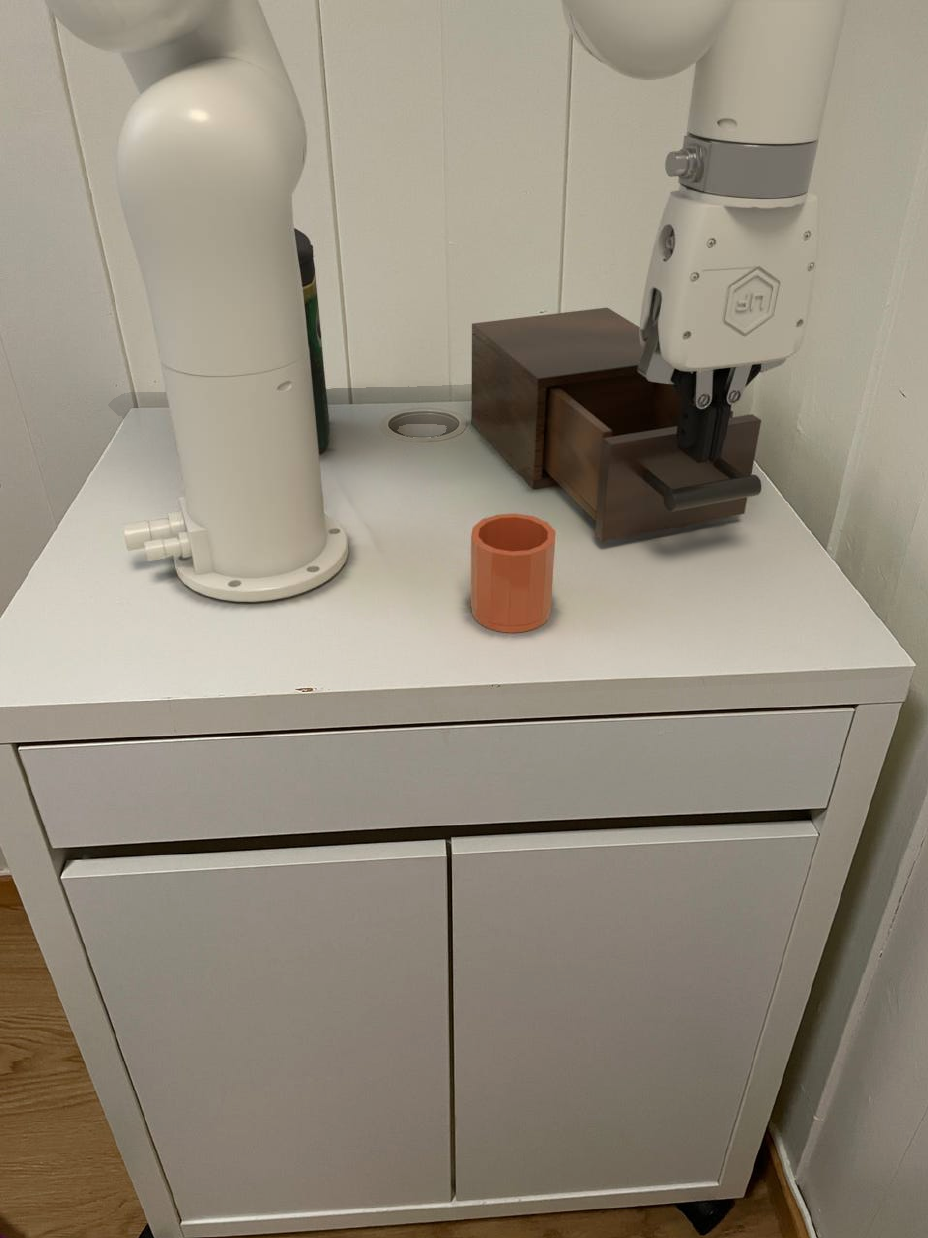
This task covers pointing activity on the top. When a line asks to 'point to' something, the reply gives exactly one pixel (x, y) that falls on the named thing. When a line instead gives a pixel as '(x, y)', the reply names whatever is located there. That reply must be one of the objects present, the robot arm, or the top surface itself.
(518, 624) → the cup
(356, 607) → the top surface
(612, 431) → the drawer
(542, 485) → the cabinet
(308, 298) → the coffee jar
